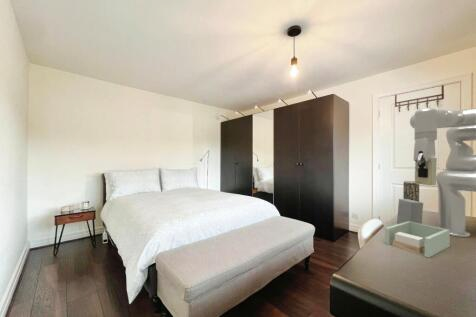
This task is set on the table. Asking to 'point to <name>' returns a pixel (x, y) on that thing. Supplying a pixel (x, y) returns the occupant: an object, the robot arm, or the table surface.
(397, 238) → the offcut upper
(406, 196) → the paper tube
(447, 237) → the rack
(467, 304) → the table surface
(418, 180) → the skincare box
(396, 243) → the offcut lower
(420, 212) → the skincare box
